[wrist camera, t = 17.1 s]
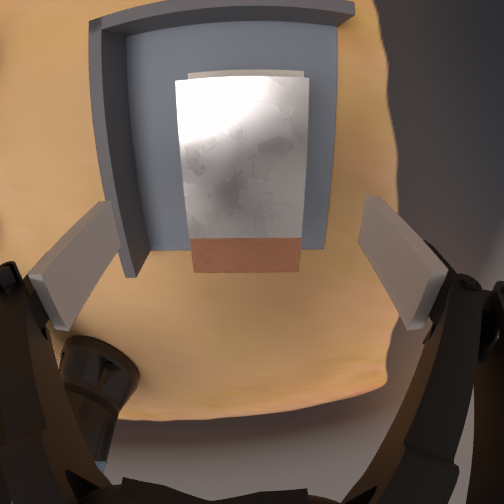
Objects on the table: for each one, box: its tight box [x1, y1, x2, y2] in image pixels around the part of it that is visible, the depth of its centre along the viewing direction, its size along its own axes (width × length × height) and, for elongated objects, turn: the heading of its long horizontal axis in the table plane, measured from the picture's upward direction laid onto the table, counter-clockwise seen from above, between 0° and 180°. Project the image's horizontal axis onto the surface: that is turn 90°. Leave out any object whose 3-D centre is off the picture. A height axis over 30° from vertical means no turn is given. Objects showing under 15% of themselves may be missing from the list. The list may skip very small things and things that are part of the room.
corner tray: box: [89, 0, 355, 278], centre depth 22 cm, size 20×24×6 cm
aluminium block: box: [176, 76, 309, 273], centre depth 22 cm, size 14×8×8 cm, turn 1°
